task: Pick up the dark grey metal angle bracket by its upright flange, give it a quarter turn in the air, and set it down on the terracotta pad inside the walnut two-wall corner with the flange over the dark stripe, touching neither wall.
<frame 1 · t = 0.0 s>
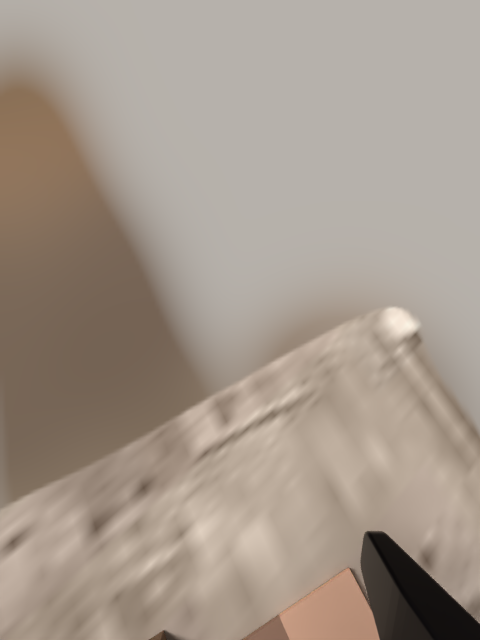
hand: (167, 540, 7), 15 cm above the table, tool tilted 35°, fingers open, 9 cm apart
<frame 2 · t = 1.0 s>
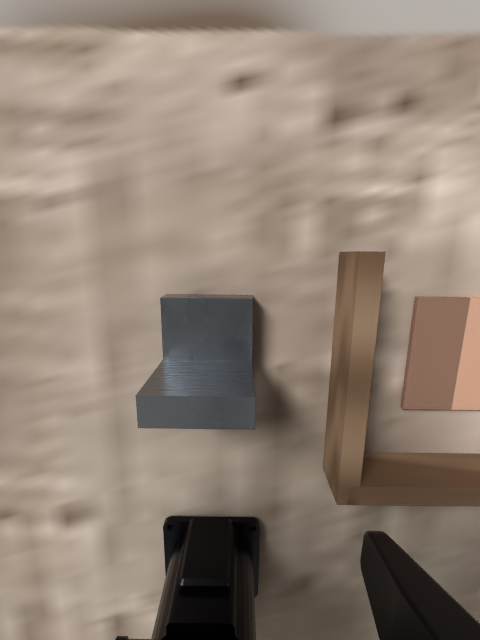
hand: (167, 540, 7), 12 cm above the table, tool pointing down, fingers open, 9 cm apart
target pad: (473, 354, 18), on the table
l-shaped wooden corner frame: (454, 370, 19), on the table
angle bracket: (210, 335, 18), on the table
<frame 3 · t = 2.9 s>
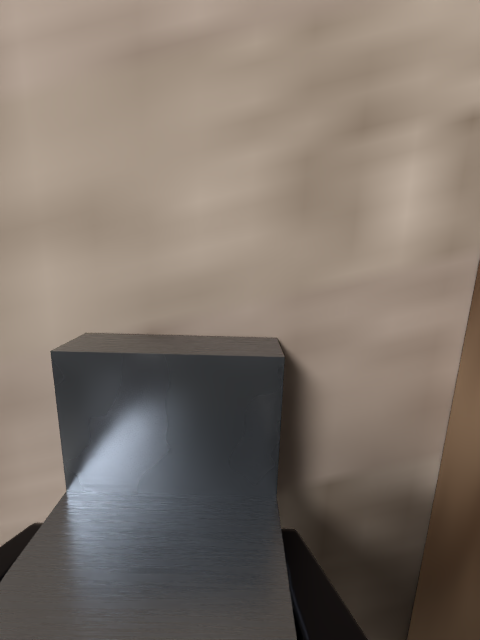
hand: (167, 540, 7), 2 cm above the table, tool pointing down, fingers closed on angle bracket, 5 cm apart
angle bracket: (182, 421, 8), on the table, touching gripper
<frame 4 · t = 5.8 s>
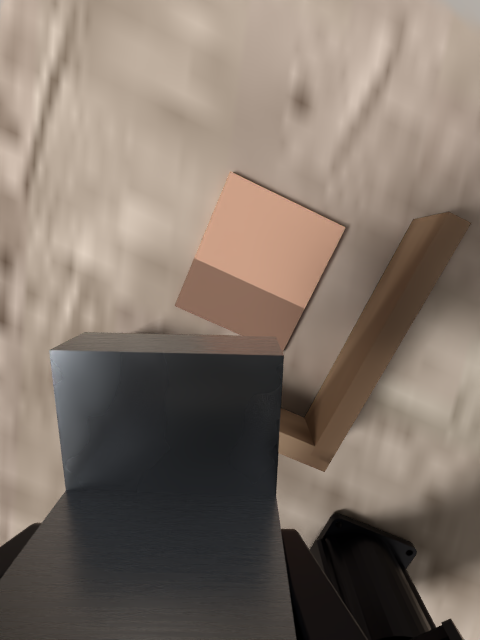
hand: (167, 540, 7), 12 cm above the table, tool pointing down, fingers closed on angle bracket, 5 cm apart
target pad: (257, 267, 18), on the table
l-shaped wooden corner frame: (265, 290, 18), on the table
angle bracket: (182, 420, 8), point 10 cm above the table, touching gripper
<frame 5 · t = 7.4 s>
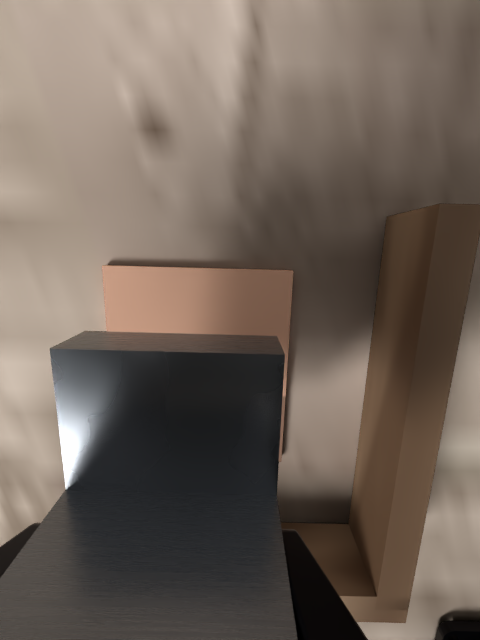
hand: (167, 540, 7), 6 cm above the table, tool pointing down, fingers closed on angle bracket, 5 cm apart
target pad: (199, 368, 12), on the table
l-shaped wooden corner frame: (223, 391, 12), on the table
angle bracket: (182, 420, 8), point 4 cm above the table, touching gripper
when the fingers open (4 cm above the table, at t = 8.7 s): angle bracket drops 1 cm, resting on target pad.
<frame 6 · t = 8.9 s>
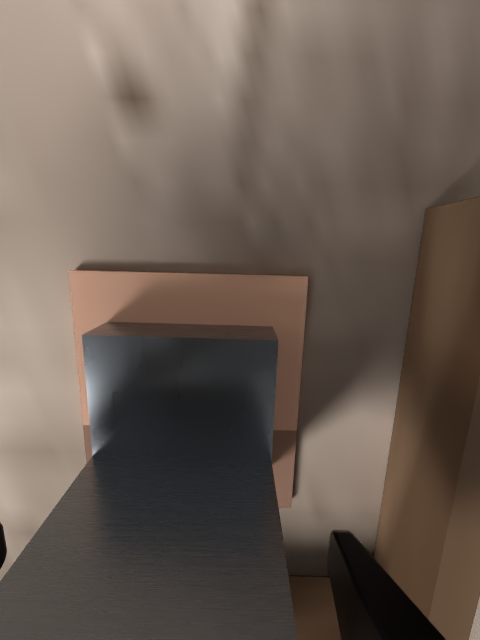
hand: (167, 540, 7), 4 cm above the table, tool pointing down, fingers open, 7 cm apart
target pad: (191, 395, 10), on the table
l-shaped wooden corner frame: (221, 423, 10), on the table
angle bracket: (190, 400, 10), resting on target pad
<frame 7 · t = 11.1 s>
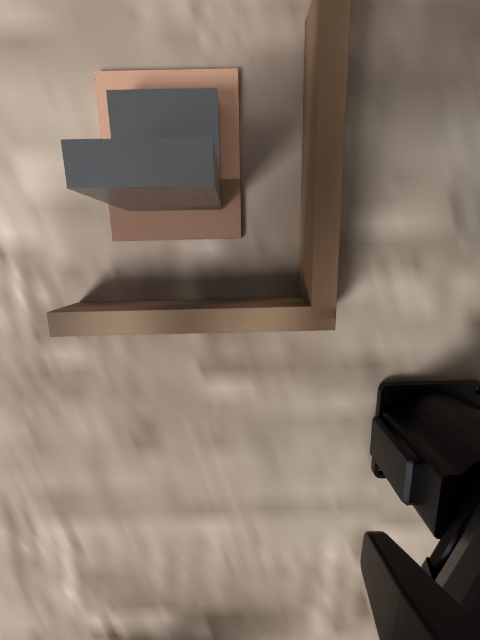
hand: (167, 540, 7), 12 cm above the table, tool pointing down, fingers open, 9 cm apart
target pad: (173, 161, 16), on the table
l-shaped wooden corner frame: (193, 181, 16), on the table
angle bracket: (172, 159, 16), resting on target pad
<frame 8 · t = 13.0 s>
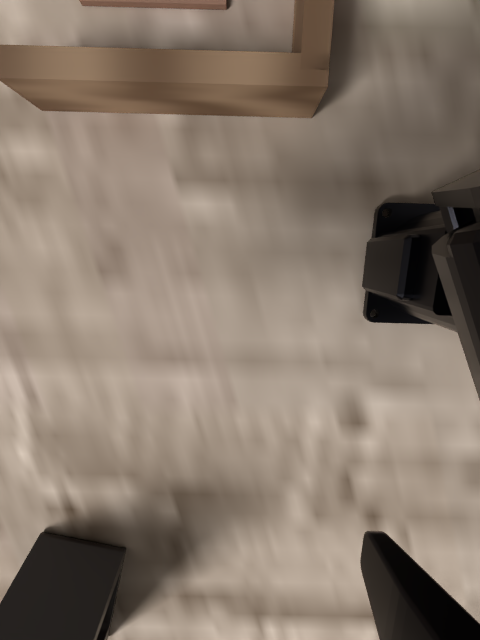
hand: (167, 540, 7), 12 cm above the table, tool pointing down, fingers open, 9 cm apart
phone stand: (78, 583, 23), on the table
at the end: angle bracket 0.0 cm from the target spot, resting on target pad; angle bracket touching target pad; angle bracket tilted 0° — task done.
